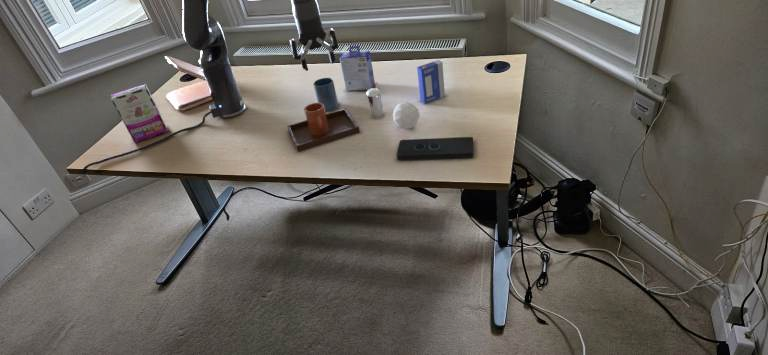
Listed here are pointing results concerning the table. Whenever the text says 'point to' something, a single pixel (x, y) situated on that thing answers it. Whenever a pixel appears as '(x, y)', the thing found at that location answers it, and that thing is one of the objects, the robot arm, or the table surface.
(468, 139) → the smart home device
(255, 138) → the table surface
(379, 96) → the milkshake
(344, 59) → the ink cartridge box
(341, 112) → the tray
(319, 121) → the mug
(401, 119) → the geometric ball
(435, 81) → the walkman
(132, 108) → the candy bar box
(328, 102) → the glass
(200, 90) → the case
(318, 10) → the robot arm
